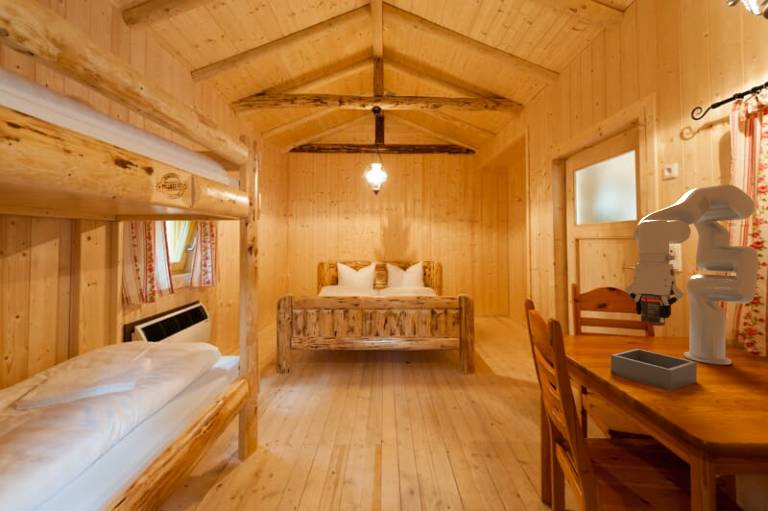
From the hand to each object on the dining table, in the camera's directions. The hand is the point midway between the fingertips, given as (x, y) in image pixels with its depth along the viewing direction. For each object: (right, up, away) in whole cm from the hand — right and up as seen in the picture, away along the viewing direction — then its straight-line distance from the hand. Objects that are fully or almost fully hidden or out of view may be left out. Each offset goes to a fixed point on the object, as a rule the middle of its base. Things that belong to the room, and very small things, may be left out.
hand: (652, 315), depth 105 cm
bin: (0, -20, 0) cm, 20 cm away
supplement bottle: (0, -3, 0) cm, 3 cm away
